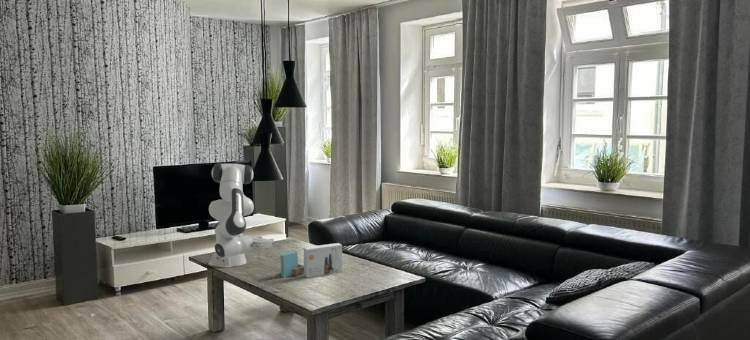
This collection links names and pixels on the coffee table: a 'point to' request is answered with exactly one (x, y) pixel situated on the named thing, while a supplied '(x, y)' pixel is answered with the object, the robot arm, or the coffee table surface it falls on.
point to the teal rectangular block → (288, 263)
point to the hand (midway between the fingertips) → (267, 239)
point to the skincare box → (322, 260)
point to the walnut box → (298, 270)
